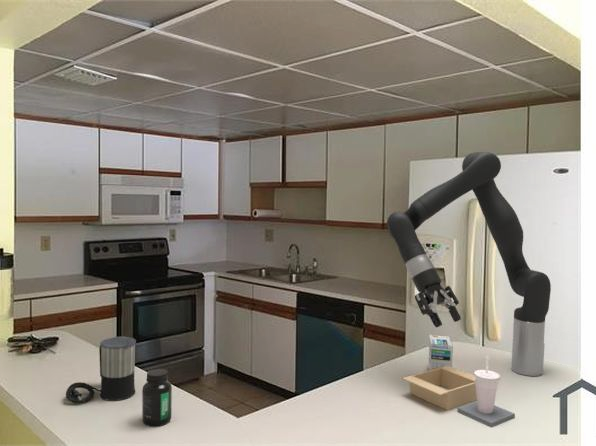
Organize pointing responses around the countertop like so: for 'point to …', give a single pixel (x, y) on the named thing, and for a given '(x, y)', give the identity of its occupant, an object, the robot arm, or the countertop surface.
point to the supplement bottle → (157, 399)
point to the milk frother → (111, 372)
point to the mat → (488, 419)
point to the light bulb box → (440, 352)
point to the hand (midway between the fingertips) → (448, 323)
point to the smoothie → (486, 389)
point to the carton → (447, 377)
